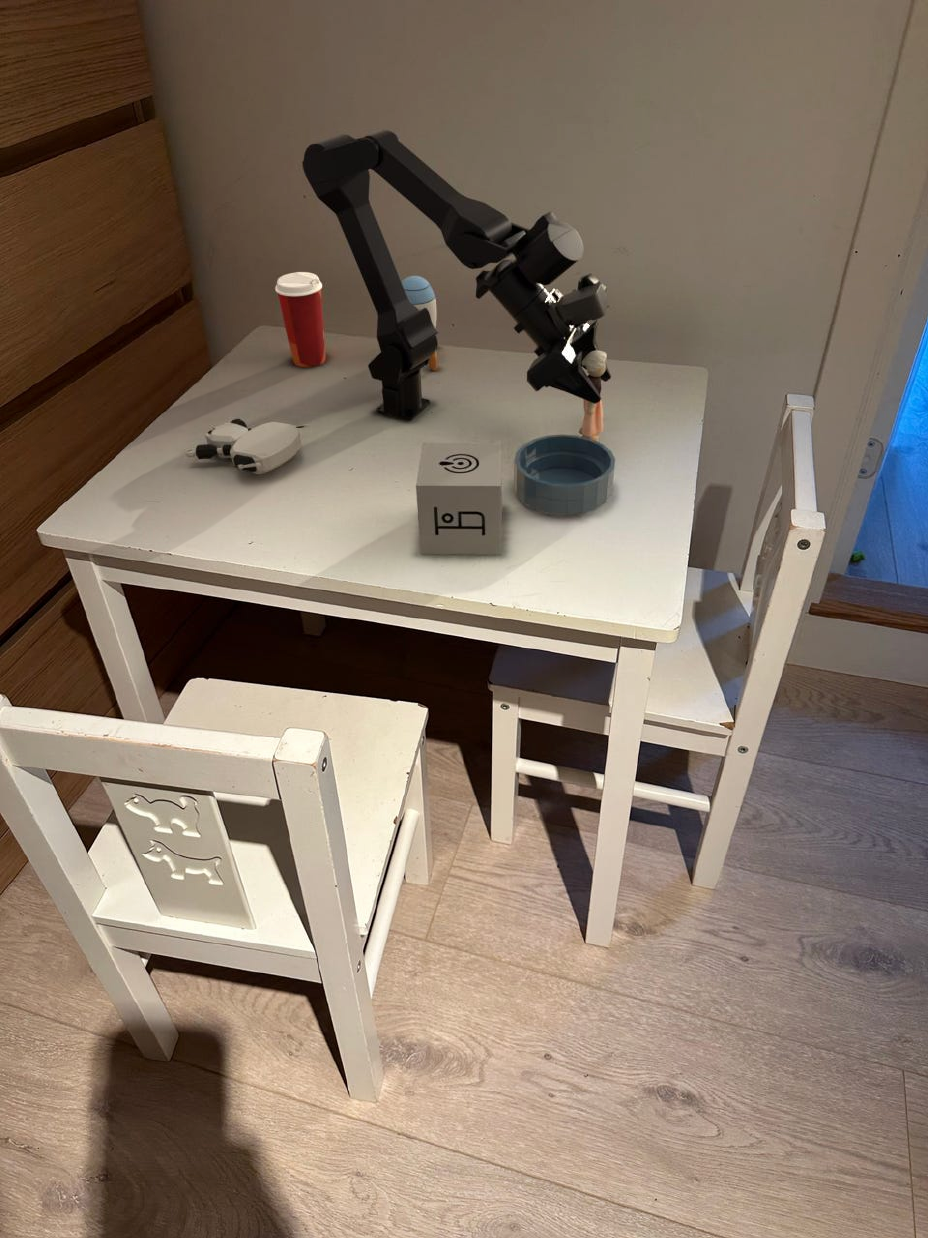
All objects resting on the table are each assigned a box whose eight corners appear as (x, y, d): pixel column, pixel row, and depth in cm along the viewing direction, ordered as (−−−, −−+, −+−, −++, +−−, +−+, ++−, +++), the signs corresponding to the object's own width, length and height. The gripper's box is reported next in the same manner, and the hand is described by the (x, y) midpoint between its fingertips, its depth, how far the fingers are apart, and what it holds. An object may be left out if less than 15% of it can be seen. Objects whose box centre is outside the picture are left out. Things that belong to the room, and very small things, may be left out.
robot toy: (185, 473, 128) (268, 490, 122) (176, 445, 126) (261, 460, 120) (238, 434, 137) (318, 448, 131) (230, 407, 134) (312, 420, 128)
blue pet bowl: (538, 457, 128) (539, 426, 125) (625, 479, 123) (629, 447, 120) (497, 503, 119) (497, 471, 116) (589, 528, 114) (592, 495, 111)
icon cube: (420, 553, 111) (415, 485, 104) (426, 509, 119) (422, 442, 112) (500, 554, 110) (501, 486, 104) (502, 509, 118) (502, 442, 111)
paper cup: (339, 354, 156) (330, 274, 146) (316, 373, 150) (304, 290, 141) (302, 347, 158) (290, 268, 149) (277, 365, 153) (263, 283, 144)
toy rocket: (449, 375, 151) (429, 295, 139) (388, 386, 152) (363, 308, 141) (448, 342, 157) (429, 262, 146) (390, 353, 159) (367, 275, 148)
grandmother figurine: (608, 447, 124) (618, 362, 116) (581, 449, 124) (589, 364, 116) (596, 420, 130) (605, 337, 121) (570, 422, 130) (577, 338, 121)
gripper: (556, 289, 105) (638, 387, 110) (589, 238, 119) (661, 328, 123) (492, 344, 112) (571, 435, 117) (530, 290, 126) (600, 373, 130)
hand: (603, 390), depth 122 cm, fingers closed on grandmother figurine, 6 cm apart
